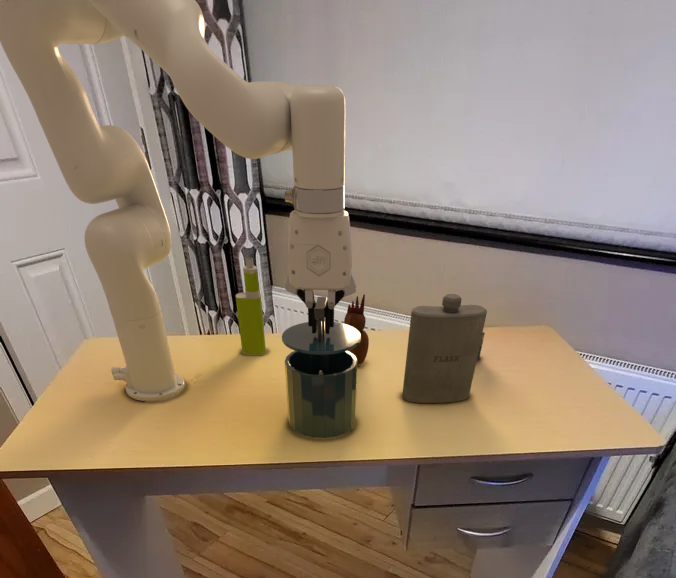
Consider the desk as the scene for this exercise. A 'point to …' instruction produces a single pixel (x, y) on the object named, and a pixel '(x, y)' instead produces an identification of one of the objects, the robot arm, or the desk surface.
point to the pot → (321, 393)
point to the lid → (321, 335)
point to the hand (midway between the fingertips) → (321, 330)
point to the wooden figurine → (358, 321)
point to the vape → (251, 313)
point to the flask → (442, 351)
